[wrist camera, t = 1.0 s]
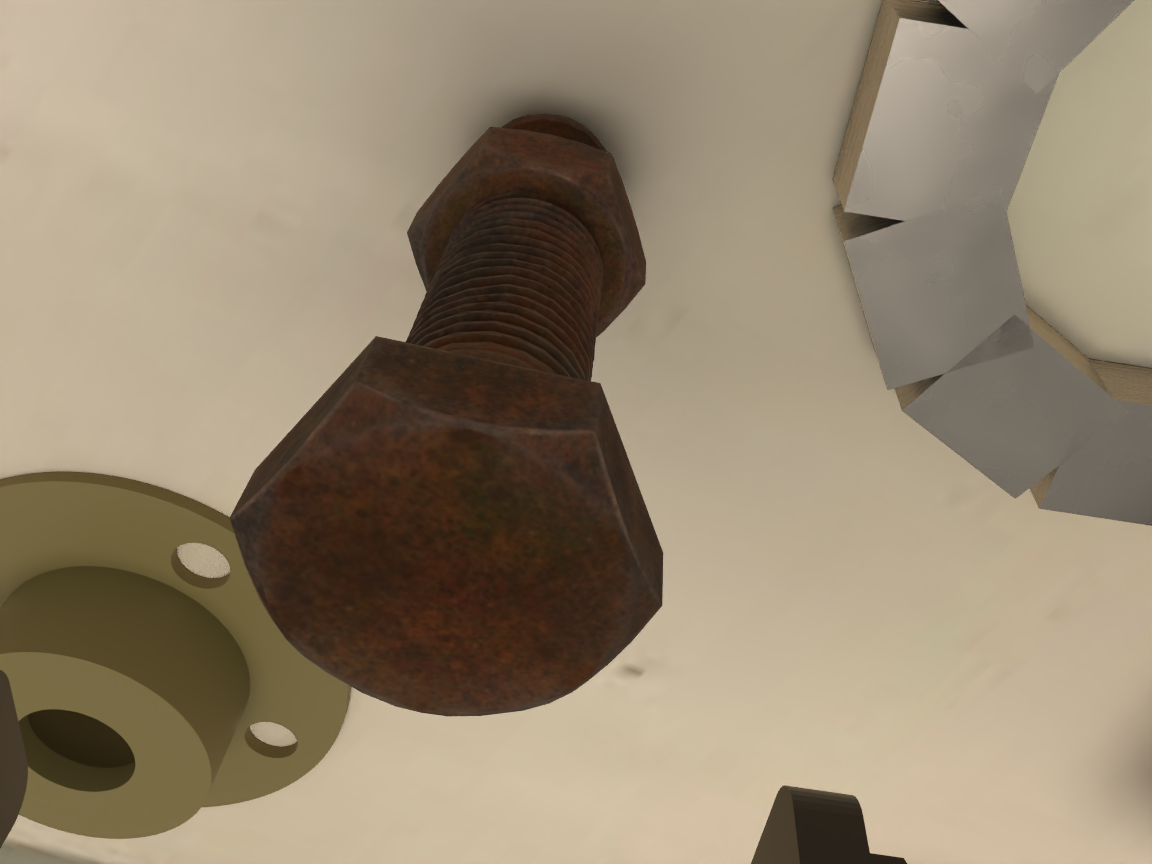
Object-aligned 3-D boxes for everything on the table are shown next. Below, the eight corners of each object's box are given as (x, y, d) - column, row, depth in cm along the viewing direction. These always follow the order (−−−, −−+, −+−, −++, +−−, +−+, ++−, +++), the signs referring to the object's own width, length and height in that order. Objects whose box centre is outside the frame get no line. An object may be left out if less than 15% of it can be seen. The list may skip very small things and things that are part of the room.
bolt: (548, 5, 24) (422, 316, 12) (708, 154, 26) (744, 567, 14) (396, 187, 27) (162, 598, 15) (550, 313, 29) (457, 779, 16)
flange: (184, 951, 39) (410, 742, 32) (-236, 761, 35) (-82, 469, 28) (228, 838, 43) (438, 630, 36) (-145, 654, 39) (11, 376, 32)
